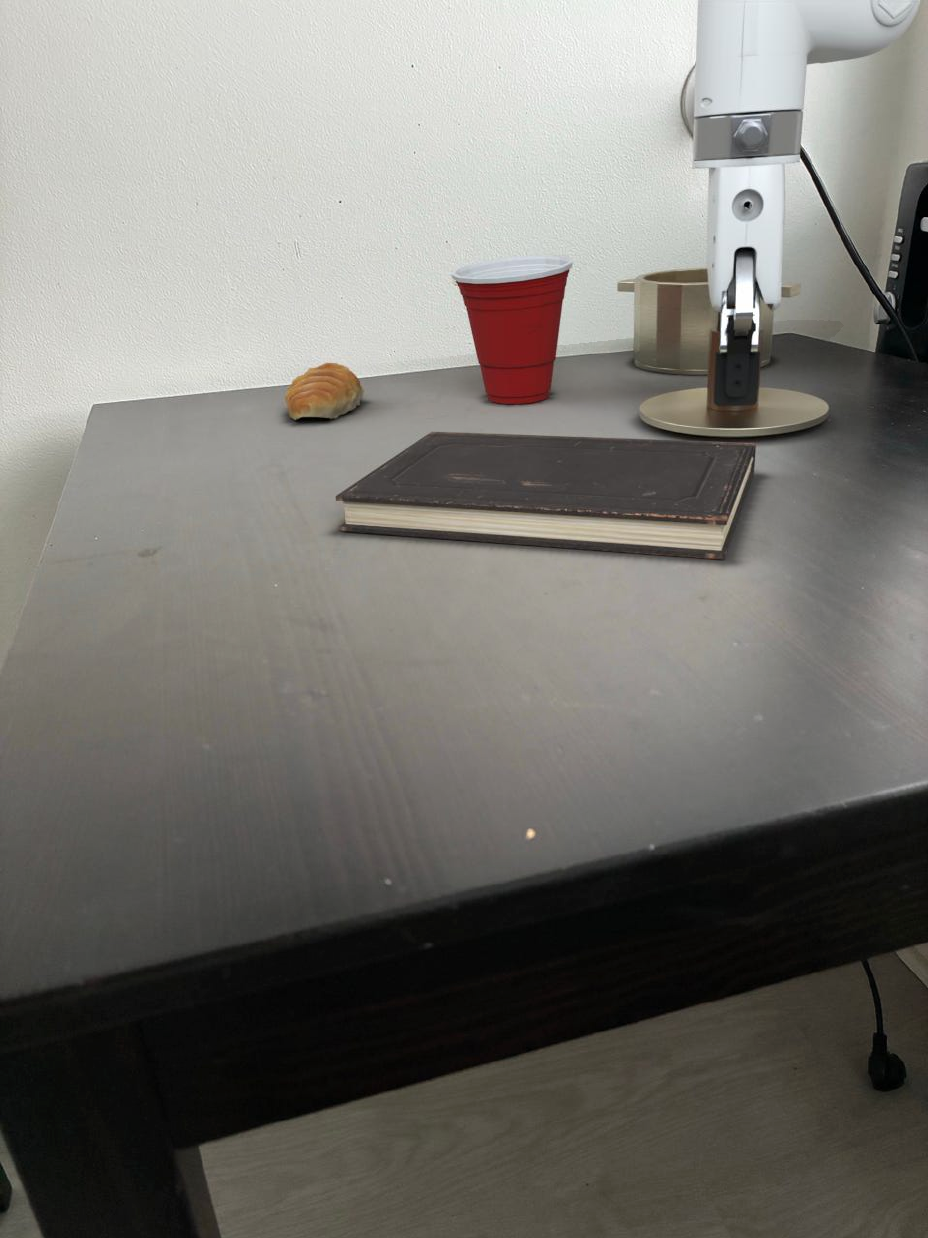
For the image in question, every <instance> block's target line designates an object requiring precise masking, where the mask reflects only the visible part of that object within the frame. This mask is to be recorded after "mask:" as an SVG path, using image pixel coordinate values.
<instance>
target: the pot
mask: <svg viewBox="0 0 928 1238" xmlns="http://www.w3.org/2000/svg"><path fill="white" fill-rule="evenodd" d="M616 283H617V287H616V289H617V290H616V291H617V292H625V293H626V292H627V293H634V294H633V306H634V307H633V360H634V365H635V367H637V368H639V369H641V370H645V371H648V372H653V373H659V374H668V375H681V376H682V375H683V376H700V375H701V376H708V358H709V335H710V329H711V328H713V327H716V315H717V310H715V309H714V308H713V307H712V304H711V301H710V296H709V286H708V272H707V267H692V268H691V267H690V268H678V269H677V268H675V269H668V270H667V269H666V270H660V271H651V272H648V273H643V274H640V275H637V276H636V277H635V278H627V279H623V280H619V281H617V282H616ZM801 290H802V283H801V282H782V286H781V298H792V297H795V296H799V295H801V292H802V291H801ZM774 315H775V310H772V311H771V310H770V309H769V307H768V306H767V304H765V303H764V302H763V300H762V298H761V297H760V314H759V326H760V327H762V328H763V339H762V355H761V368H763V367H765V366H767V365H769V364H770V362H771V356H772V345H773V333H774V332H773V331H774V317H775V316H774Z"/></svg>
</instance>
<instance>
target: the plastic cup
mask: <svg viewBox="0 0 928 1238" xmlns="http://www.w3.org/2000/svg"><path fill="white" fill-rule="evenodd" d="M573 263H574V257H570V256H566V255H561V254H527V255H516V256H506V257H500V258H494V259H487V260H482V261H478V262H473V263H470V264H465V265H463V266H460V267H458V268H455V269H454V270H453V271H452V272H451V274H450V276H451V278H452V280H454V281H455V283H456V284H457V287H458V289H459V292H460V295H461V296H462V301H463V305H464V307H465V310H466V313H467V318H468V322H469V326H470V331H471V335H472V339H473V344H474V349H475V354H476V358H477V362H478V364H479V367H480V371H481V376H482V381H483V387H484V391H485V393H486V395H487V400H488V401H490V402H491V403H496V404H501V405H502V404H503V405H506V404H507V405H522V404H530V403H537V402H540V401H541V402H542V401H544V400H546V399H548V398H549V397H550V391H551V390H552V382H553V373H554V366H555V361H556V358H557V349H558V343H559V334H560V325H561V317H562V312H563V311H562V310H563V304H564V303H563V301H564V300H565V293H566V292H565V291H566V287H567V281H568V277H569V273H570V270H571V269H572V268H573Z"/></svg>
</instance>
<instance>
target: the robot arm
mask: <svg viewBox="0 0 928 1238" xmlns="http://www.w3.org/2000/svg"><path fill="white" fill-rule="evenodd" d="M921 2H922V0H697V17H696V18H697V19H696V42H695V43H696V45H695V46H696V47H695V72H694V73H695V75H694V81H695V82H694V104H693V105H694V106H693V118H694V119H693V137H692V138H693V139H692V143H693V144H692V161H691V168H692V169H693V170H695V169H698V170H699V169H708V181H707V182H708V183H707V184H708V186H707V217H706V218H707V219H706V268H707V272H708V286H709V296H710V301H711V304H712V307H713V308H714V309H715V310H717V315H716V326H720V352H716V357H715V379H714V403H715V405H717V406H749V405H754V404H755V403H756V402H757V393H758V377H759V362H760V351H758V340H759V314H760V297H761V298H762V300H763V302H764V303H765V304H767V306H768V307H769V309H770V310H771V311H772V310H774V311H776V310H777V309H779V308H780V306H781V304H782V297H781V286H782V283H783V281H782V280H783V258H784V257H783V256H784V239H785V220H786V219H785V217H786V216H785V215H786V168H785V167H786V166H785V165H786V164H797V163H800V160H801V149H802V148H801V147H802V133H803V120H804V106H805V95H806V83H807V82H806V81H807V80H806V79H807V66H808V65H813V64H827V63H835V62H842V61H850V60H855V59H861V58H864V57H869V56H872V55H874V54H876V53H878V52H881V51H883V50H885V49H886V48H888V47H890V46H891V45H893V43H895V42H897V41H898V40H899V39H900V38H901V37H902V36H903V35H904V34H905V33H906V32H907V30H908V29H909V27H910V26H911V24H912V22H913V21H914V19H915V17H916V15H917V13H918V11H919V8H920V5H921Z"/></svg>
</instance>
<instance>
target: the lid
mask: <svg viewBox="0 0 928 1238" xmlns="http://www.w3.org/2000/svg"><path fill="white" fill-rule="evenodd" d="M762 339H763V328H762V327H760V326H759V340H758V351H760V362H759V377H758V393H757V402H756V403H755V404H754V405H749V406H717V405H715V403H714V379H715V357H716V352H720V326H716V327H713V328H711V329H710V335H709V358H708V375H707V383H706V384H707V385H706V387H696V388H688V389H687V388H686V389H682V390H675V391H670V392H665V393H662V394H658V395H654V396H653V397H650V398H648V399H646V400H644V401H643V402H642V403H641V404H640V406H639V408H638V409H639V410H638V413H639V418H640V420H641V421H643V422H644V423H645V424H648V425H650V426H652V427H654V428H657V429H661V430H664V431H670V432H674V433H680V434H686V435H692V436H698V437H707V438H708V437H709V438H720V439H721V438H723V439H724V438H726V439H739V438H740V439H741V438H743V439H744V438H756V437H757V438H758V437H759V438H760V437H766V436H773V435H779V434H787V433H792V432H797V431H801V430H807V429H809V428H812V427H814V426H817V425H819V424H822V423H823V422H824V421H826V419H827V418H828V416H829V413H830V411H829V410H830V406H829V404H828V403H827V402H826V401H825V400H823V399H822V398H820V397H817V396H814V395H812V394H809V393H805V392H801V391H796V390H789V389H783V388H775V387H765V386H764V387H761V385H760V383H761V371H762V370H761V369H762V367H761V355H762Z"/></svg>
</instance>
